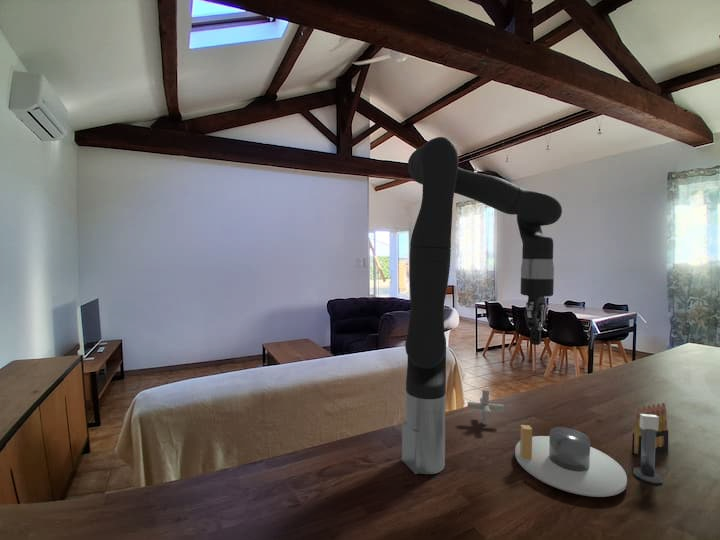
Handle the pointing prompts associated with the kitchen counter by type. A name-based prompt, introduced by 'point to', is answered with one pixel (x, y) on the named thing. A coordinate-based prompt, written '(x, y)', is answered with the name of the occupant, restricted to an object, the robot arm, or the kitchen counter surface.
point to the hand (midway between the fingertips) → (535, 344)
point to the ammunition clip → (660, 434)
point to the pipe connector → (485, 406)
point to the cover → (569, 449)
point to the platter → (596, 481)
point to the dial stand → (648, 450)
